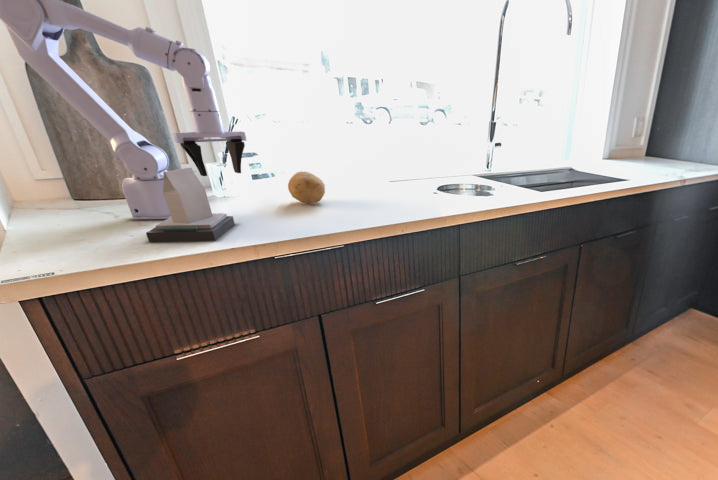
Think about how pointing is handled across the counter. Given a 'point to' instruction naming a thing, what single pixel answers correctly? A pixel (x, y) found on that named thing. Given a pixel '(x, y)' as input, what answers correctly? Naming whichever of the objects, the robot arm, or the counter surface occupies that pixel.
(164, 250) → the counter surface
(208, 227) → the scale
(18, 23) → the robot arm
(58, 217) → the counter surface
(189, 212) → the grey angular block
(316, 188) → the potato
